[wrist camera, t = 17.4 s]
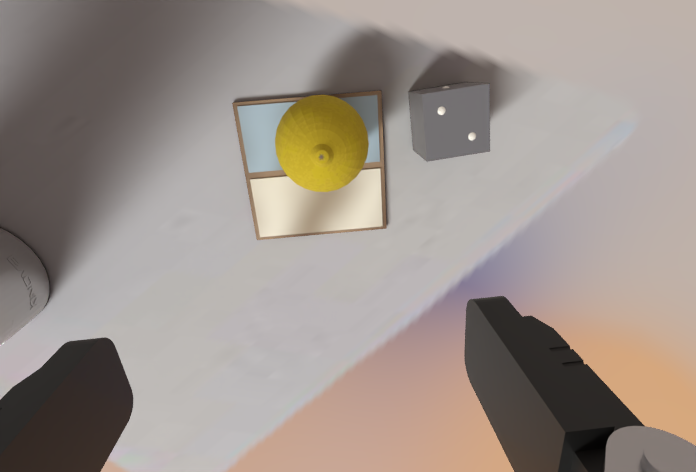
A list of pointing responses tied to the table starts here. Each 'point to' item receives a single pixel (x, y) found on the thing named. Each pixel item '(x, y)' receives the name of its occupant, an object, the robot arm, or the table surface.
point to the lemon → (321, 143)
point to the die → (450, 120)
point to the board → (295, 201)
